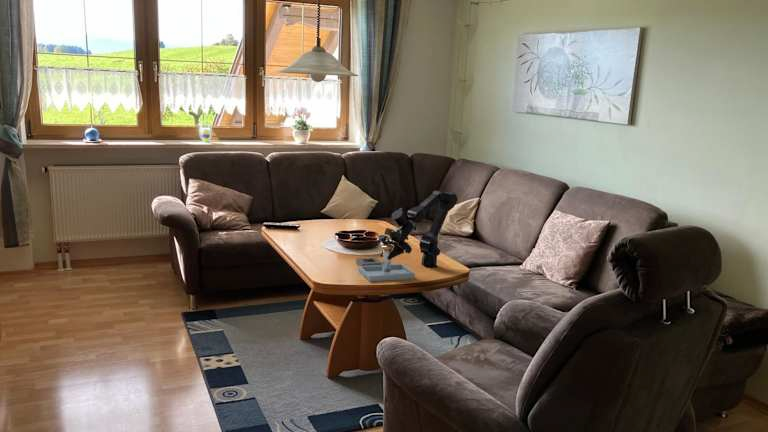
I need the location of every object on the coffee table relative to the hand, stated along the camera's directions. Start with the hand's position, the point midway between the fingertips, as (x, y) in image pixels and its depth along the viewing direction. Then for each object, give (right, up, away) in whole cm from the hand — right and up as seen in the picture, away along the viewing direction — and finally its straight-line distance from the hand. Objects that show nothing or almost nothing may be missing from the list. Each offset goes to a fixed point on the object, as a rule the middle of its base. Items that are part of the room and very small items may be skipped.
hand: (384, 258), depth 288 cm
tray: (+1, -8, +3) cm, 9 cm away
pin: (+1, -6, +2) cm, 7 cm away
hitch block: (-8, -5, +17) cm, 20 cm away
